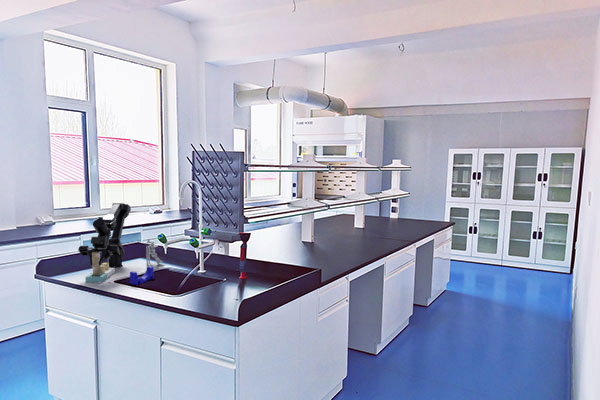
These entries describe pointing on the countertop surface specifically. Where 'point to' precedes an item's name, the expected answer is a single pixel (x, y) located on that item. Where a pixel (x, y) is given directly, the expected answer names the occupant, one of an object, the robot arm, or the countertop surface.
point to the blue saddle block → (137, 280)
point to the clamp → (152, 254)
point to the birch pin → (96, 264)
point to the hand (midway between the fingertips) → (95, 265)
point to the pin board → (104, 274)
